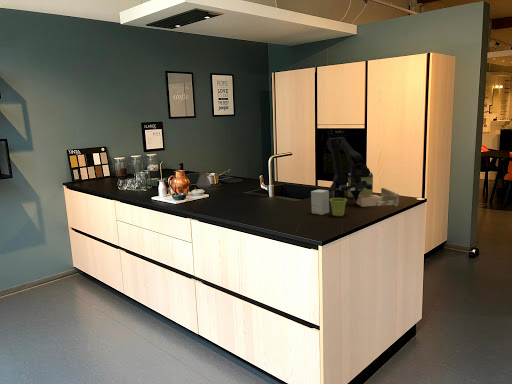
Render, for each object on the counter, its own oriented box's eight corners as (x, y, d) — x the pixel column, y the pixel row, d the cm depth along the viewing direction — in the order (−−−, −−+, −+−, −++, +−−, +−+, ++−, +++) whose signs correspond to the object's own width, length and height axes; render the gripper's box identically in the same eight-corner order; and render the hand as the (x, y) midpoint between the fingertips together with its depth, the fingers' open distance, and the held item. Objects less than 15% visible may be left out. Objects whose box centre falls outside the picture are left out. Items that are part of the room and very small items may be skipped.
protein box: (373, 198, 266) (373, 174, 263) (347, 199, 269) (347, 175, 266) (372, 195, 276) (372, 172, 273) (347, 195, 279) (347, 172, 276)
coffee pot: (194, 188, 337) (192, 169, 334) (206, 186, 344) (205, 168, 341) (207, 191, 320) (206, 171, 318) (220, 189, 327) (219, 170, 324)
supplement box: (329, 212, 236) (329, 190, 234) (321, 215, 231) (321, 192, 229) (318, 210, 241) (318, 189, 239) (311, 213, 236) (310, 191, 234)
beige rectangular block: (362, 207, 246) (361, 198, 245) (356, 204, 255) (356, 195, 254) (381, 205, 247) (381, 197, 246) (375, 202, 256) (375, 194, 255)
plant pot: (343, 212, 234) (343, 197, 233) (349, 216, 225) (349, 200, 223) (327, 213, 233) (327, 198, 231) (333, 217, 224) (333, 201, 222)
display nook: (380, 207, 242) (380, 195, 241) (366, 199, 264) (366, 188, 262) (398, 206, 243) (398, 194, 242) (383, 198, 265) (383, 187, 263)
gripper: (344, 178, 240) (344, 205, 243) (375, 176, 241) (375, 203, 244) (338, 175, 251) (338, 201, 254) (369, 173, 252) (368, 199, 255)
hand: (355, 201), depth 251 cm, fingers closed
